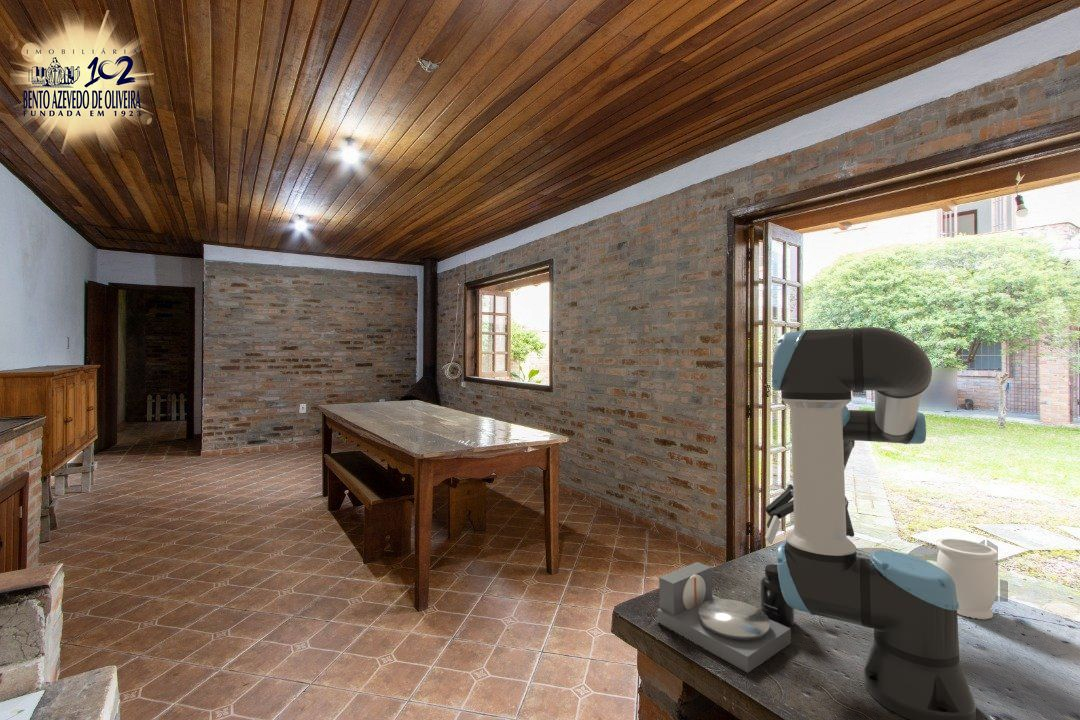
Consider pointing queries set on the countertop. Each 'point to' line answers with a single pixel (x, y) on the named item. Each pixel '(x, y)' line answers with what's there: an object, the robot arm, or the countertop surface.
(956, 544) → the jar
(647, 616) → the countertop surface
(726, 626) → the scale pan
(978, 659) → the countertop surface
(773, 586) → the supplement bottle
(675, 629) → the scale
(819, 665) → the countertop surface
